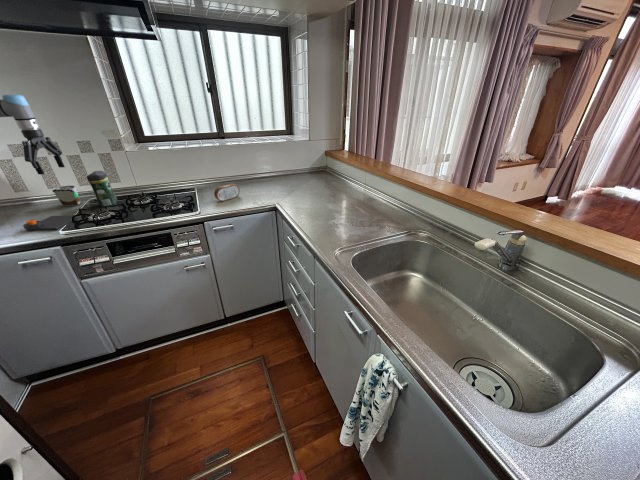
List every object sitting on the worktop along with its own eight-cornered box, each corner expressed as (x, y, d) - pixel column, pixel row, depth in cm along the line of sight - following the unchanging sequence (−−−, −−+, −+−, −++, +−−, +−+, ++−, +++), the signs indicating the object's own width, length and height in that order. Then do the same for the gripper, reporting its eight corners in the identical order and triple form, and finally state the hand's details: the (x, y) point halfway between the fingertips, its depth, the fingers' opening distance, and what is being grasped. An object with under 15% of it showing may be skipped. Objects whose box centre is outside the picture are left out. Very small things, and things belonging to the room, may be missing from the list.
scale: (23, 232, 124) (19, 226, 123) (50, 218, 137) (47, 213, 136) (55, 231, 124) (52, 225, 123) (80, 217, 137) (77, 212, 136)
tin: (238, 195, 163) (236, 181, 158) (241, 196, 161) (239, 182, 157) (215, 202, 153) (212, 187, 149) (218, 203, 152) (215, 189, 147)
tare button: (26, 225, 124) (23, 222, 123) (32, 222, 127) (30, 219, 126) (32, 225, 124) (30, 222, 123) (39, 222, 127) (37, 219, 126)
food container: (89, 201, 157) (81, 185, 152) (81, 205, 152) (72, 188, 146) (69, 201, 157) (60, 185, 152) (60, 205, 152) (50, 188, 147)
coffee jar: (104, 202, 156) (89, 170, 146) (119, 200, 158) (106, 169, 148) (97, 208, 148) (82, 175, 138) (114, 206, 150) (100, 173, 140)
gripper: (14, 132, 125) (39, 177, 135) (57, 125, 146) (76, 164, 157) (-2, 133, 124) (24, 177, 135) (43, 125, 146) (63, 164, 157)
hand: (52, 170), depth 146 cm, fingers open, 13 cm apart
